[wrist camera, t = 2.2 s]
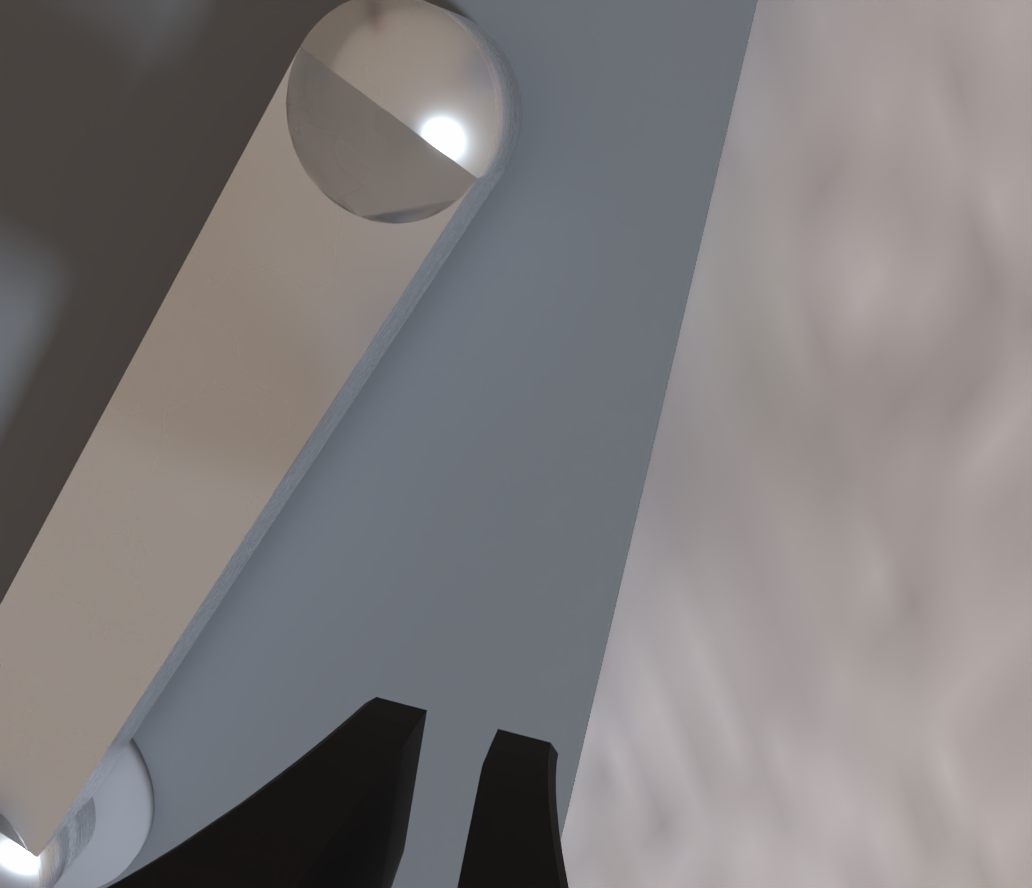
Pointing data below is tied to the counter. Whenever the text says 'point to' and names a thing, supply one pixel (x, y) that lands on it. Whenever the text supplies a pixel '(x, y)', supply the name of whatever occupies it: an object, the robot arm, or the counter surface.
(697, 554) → the counter surface
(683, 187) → the mat
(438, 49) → the swing link
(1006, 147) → the counter surface
